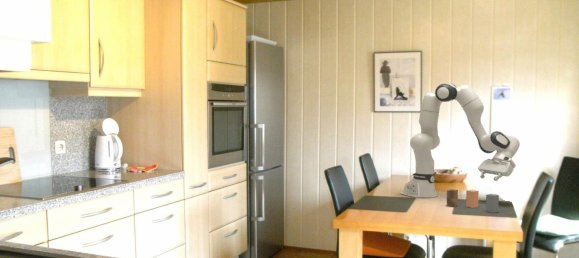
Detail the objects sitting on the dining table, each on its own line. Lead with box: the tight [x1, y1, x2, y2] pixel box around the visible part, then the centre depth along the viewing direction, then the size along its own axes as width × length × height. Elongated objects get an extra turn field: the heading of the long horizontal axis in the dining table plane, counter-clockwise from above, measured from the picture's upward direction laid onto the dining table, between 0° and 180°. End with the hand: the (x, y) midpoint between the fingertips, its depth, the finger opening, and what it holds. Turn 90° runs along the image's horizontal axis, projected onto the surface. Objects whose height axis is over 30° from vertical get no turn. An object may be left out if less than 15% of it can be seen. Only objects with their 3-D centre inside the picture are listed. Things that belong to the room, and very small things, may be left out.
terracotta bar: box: [465, 189, 479, 209], centre depth 281 cm, size 4×4×9 cm
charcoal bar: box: [485, 193, 500, 214], centre depth 268 cm, size 4×4×9 cm
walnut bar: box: [446, 188, 459, 208], centre depth 283 cm, size 4×4×9 cm
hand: (488, 178), depth 285 cm, fingers open, 8 cm apart
